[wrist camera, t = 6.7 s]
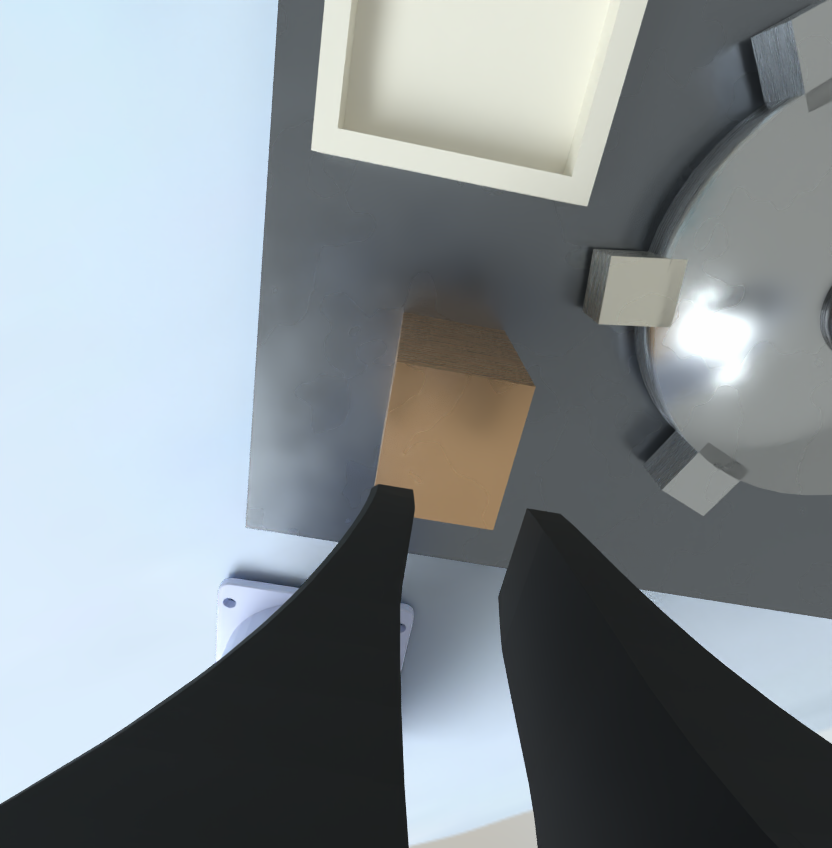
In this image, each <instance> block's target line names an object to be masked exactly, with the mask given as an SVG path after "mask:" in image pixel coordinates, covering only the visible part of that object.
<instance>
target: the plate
mask: <svg viewBox="0 0 832 848" xmlns="http://www.w3.org/2000/svg"><path fill="white" fill-rule="evenodd" d="M817 1H819V0H648V2H647V6H646V9H645V12H644V16H643V19H642V22H641V26H640V29H639V33H638V36H637V39H636V43H635V46H634V50H633V53H632V56H631V60H630V63H629V66H628V70H627V73H626V77H625V80H624V83H623V87H622V90H621V94H620V97H619V100H618V104H617V107H616V111H615V114H614V117H613V121H612V124H611V127H610V131H609V134H608V138H607V141H606V144H605V148H604V151H603V155H602V158H601V161H600V165H599V168H598V172H597V175H596V178H595V182H594V185H593V188H592V192H591V195H590V199H589V202H588V205H587V206H581V205H574V204H569V203H564V202H559V201H554V200H549V199H544V198H540V197H535V196H530V195H525V194H520V193H515V192H510V191H505V190H500V189H496V188H491V187H486V186H481V185H476V184H471V183H466V182H461V181H456V180H452V179H447V178H442V177H437V176H432V175H427V174H422V173H417V172H412V171H408V170H403V169H398V168H393V167H388V166H383V165H378V164H373V163H368V162H364V161H359V160H354V159H349V158H344V157H339V156H334V155H329V154H324V153H320V152H316V151H313V150H311V145H312V134H313V123H314V112H315V101H316V90H317V79H318V68H319V57H320V47H321V36H322V25H323V14H324V3H325V0H279V1H278V17H277V33H276V49H275V65H274V81H273V97H272V113H271V129H270V145H269V161H268V177H267V192H266V208H265V224H264V240H263V256H262V272H261V288H260V304H259V320H258V336H257V352H256V368H255V383H254V399H253V415H252V431H251V447H250V463H249V479H248V495H247V511H246V528H252V529H258V530H265V531H271V532H278V533H284V534H290V535H297V536H303V537H310V538H316V539H322V540H329V541H335V542H339V541H340V540H341V539H342V537H343V536H344V535H345V533H346V532H347V531H348V529H349V528H350V527H351V525H352V524H353V522H354V521H355V519H356V518H357V516H358V515H359V513H360V511H361V510H362V508H363V506H364V505H365V503H366V501H367V498H368V496H369V494H370V491H371V488H373V487H374V484H375V478H376V471H377V465H378V458H379V452H380V446H381V439H382V433H383V427H384V421H385V415H386V410H387V404H388V398H389V393H390V387H391V381H392V376H393V370H394V364H395V359H396V353H397V347H398V342H399V336H400V330H401V325H402V319H403V313H404V312H407V313H412V314H417V315H423V316H428V317H433V318H439V319H444V320H449V321H455V322H460V323H465V324H471V325H476V326H482V327H487V328H492V329H498V330H503V331H505V332H506V334H507V336H508V338H509V340H510V341H511V343H512V345H513V347H514V349H515V350H516V352H517V354H518V356H519V358H520V359H521V361H522V363H523V365H524V367H525V368H526V370H527V372H528V374H529V376H530V377H531V379H532V381H533V383H534V385H535V386H536V388H535V391H534V394H533V398H532V401H531V404H530V408H529V411H528V415H527V418H526V421H525V425H524V428H523V431H522V435H521V438H520V442H519V445H518V448H517V452H516V455H515V458H514V462H513V465H512V468H511V472H510V475H509V479H508V482H507V485H506V489H505V492H504V495H503V499H502V502H501V506H500V509H499V512H498V516H497V519H496V522H495V526H494V529H493V530H489V529H483V528H476V527H470V526H464V525H458V524H452V523H445V522H439V521H433V520H427V519H420V518H414V519H413V525H412V531H411V537H410V543H409V548H408V553H412V554H418V555H425V556H431V557H438V558H444V559H450V560H457V561H463V562H469V563H476V564H482V565H489V566H495V567H501V568H508V565H509V562H510V559H511V556H512V553H513V550H514V547H515V543H516V540H517V537H518V534H519V531H520V528H521V525H522V522H523V519H524V515H525V512H526V509H527V508H529V509H535V510H541V511H547V512H553V513H559V514H561V515H562V516H564V517H565V518H566V519H567V520H568V521H569V522H571V523H572V524H573V525H574V526H575V527H576V528H577V529H578V530H579V531H580V532H581V533H582V534H583V535H584V536H585V537H586V538H587V539H588V540H589V541H590V542H591V543H592V544H593V545H594V546H595V547H596V548H597V549H598V550H599V551H600V552H601V553H602V554H603V555H604V556H605V557H606V558H607V559H608V560H609V561H610V562H611V563H612V564H613V565H614V566H615V567H616V568H617V569H618V570H619V571H620V572H621V573H622V574H624V575H625V576H626V577H627V578H628V579H629V580H630V581H631V582H632V583H633V584H634V585H635V586H636V587H637V588H638V589H642V590H649V591H655V592H661V593H668V594H674V595H681V596H687V597H693V598H700V599H706V600H712V601H719V602H725V603H732V604H738V605H744V606H751V607H757V608H764V609H770V610H776V611H783V612H789V613H796V614H802V615H808V616H815V617H821V618H828V619H832V495H798V494H788V493H780V492H776V491H771V490H767V489H763V488H758V487H756V486H753V485H750V484H748V483H745V482H743V481H739V482H738V483H737V484H736V485H735V486H734V487H733V488H732V489H731V490H730V491H729V492H728V493H727V494H726V495H725V496H724V497H723V498H722V499H721V500H720V501H719V502H718V503H717V504H716V505H715V506H713V507H712V508H711V509H710V510H709V511H708V512H707V513H706V514H705V515H704V516H702V515H701V514H699V513H698V512H696V511H694V510H693V509H691V508H690V507H688V506H686V505H685V504H683V503H682V502H680V501H678V500H677V499H675V498H674V497H672V496H670V495H669V494H667V493H666V492H664V491H663V490H661V488H660V487H659V486H658V484H657V483H656V482H655V481H654V479H653V478H652V477H651V475H650V474H649V473H648V472H647V470H646V469H645V468H644V466H643V465H644V463H645V462H646V461H647V460H648V459H649V458H650V457H651V456H652V455H653V454H654V453H655V452H656V451H657V450H658V449H659V447H660V446H661V445H662V444H663V443H664V442H665V441H666V440H667V439H668V438H669V437H670V436H671V435H672V434H673V432H674V431H675V429H674V428H673V427H672V426H671V425H670V424H669V423H668V422H667V421H666V420H665V419H664V417H663V416H662V414H661V413H660V411H659V410H658V408H657V407H656V405H655V404H654V402H653V401H652V399H651V397H650V395H649V392H648V390H647V388H646V386H645V384H644V381H643V378H642V375H641V371H640V368H639V364H638V360H637V355H636V346H635V338H634V326H625V325H604V324H598V323H596V322H595V321H594V320H593V319H591V318H590V317H589V316H588V315H586V314H585V313H584V312H583V306H584V300H585V294H586V288H587V283H588V277H589V271H590V266H591V260H592V254H593V249H605V250H626V251H646V252H648V250H649V248H650V245H651V243H652V240H653V238H654V236H655V233H656V231H657V228H658V226H659V224H660V223H661V221H662V219H663V217H664V215H665V213H666V212H667V210H668V208H669V206H670V204H671V202H672V201H673V199H674V198H675V196H676V195H677V193H678V192H679V190H680V189H681V187H682V186H683V185H684V183H685V182H686V180H687V179H688V177H689V176H690V175H691V173H692V172H693V171H694V169H695V168H696V167H697V166H698V165H699V164H700V162H701V161H702V160H703V159H704V158H705V157H706V156H707V154H708V153H709V152H710V151H711V150H712V149H713V147H714V146H715V145H716V144H717V143H718V142H720V141H721V140H722V139H723V138H724V137H725V136H726V135H727V134H728V133H729V132H730V131H731V130H732V129H733V128H734V127H735V126H737V125H738V124H739V123H740V122H741V121H742V120H743V119H745V118H746V117H747V116H749V115H750V114H751V113H753V112H754V111H755V110H757V109H758V108H759V107H761V106H762V105H763V104H765V102H764V97H763V92H762V88H761V83H760V79H759V74H758V69H757V65H756V60H755V55H754V51H753V46H752V42H751V38H752V37H753V36H755V35H757V34H759V33H761V32H762V31H764V30H766V29H768V28H770V27H772V26H773V25H775V24H777V23H779V22H781V21H782V20H784V19H786V18H788V17H790V16H791V15H793V14H795V13H797V12H799V11H800V10H802V9H804V8H806V7H808V6H810V5H811V4H813V3H815V2H817Z"/></svg>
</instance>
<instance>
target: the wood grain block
mask: <svg viewBox="0 0 832 848" xmlns="http://www.w3.org/2000/svg"><path fill="white" fill-rule="evenodd" d="M535 388H536V386H535V385H534V383H533V381H532V379H531V377H530V376H529V374H528V372H527V370H526V368H525V367H524V365H523V363H522V361H521V359H520V358H519V356H518V354H517V352H516V350H515V349H514V347H513V345H512V343H511V341H510V340H509V338H508V336H507V334H506V332H505V331H503V330H498V329H492V328H487V327H482V326H476V325H471V324H465V323H460V322H455V321H449V320H444V319H439V318H433V317H428V316H423V315H417V314H412V313H407V312H404V313H403V319H402V325H401V330H400V336H399V342H398V347H397V353H396V359H395V364H394V370H393V376H392V381H391V387H390V393H389V398H388V404H387V410H386V415H385V421H384V427H383V433H382V439H381V446H380V452H379V458H378V465H377V471H376V478H375V484H374V486H376V485H378V484H383V485H389V486H395V487H401V488H407V489H413V493H414V501H415V513H414V518H420V519H427V520H433V521H439V522H445V523H452V524H458V525H464V526H470V527H476V528H483V529H489V530H493V529H494V526H495V522H496V519H497V516H498V512H499V509H500V506H501V502H502V499H503V495H504V492H505V489H506V485H507V482H508V479H509V475H510V472H511V468H512V465H513V462H514V458H515V455H516V452H517V448H518V445H519V442H520V438H521V435H522V431H523V428H524V425H525V421H526V418H527V415H528V411H529V408H530V404H531V401H532V398H533V394H534V391H535Z"/></svg>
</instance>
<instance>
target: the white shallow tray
mask: <svg viewBox="0 0 832 848" xmlns="http://www.w3.org/2000/svg"><path fill="white" fill-rule="evenodd" d="M647 2H648V0H325V3H324V14H323V25H322V36H321V47H320V57H319V68H318V79H317V90H316V101H315V112H314V123H313V134H312V145H311V150H313V151H316V152H320V153H324V154H329V155H334V156H339V157H344V158H349V159H354V160H359V161H364V162H368V163H373V164H378V165H383V166H388V167H393V168H398V169H403V170H408V171H412V172H417V173H422V174H427V175H432V176H437V177H442V178H447V179H452V180H456V181H461V182H466V183H471V184H476V185H481V186H486V187H491V188H496V189H500V190H505V191H510V192H515V193H520V194H525V195H530V196H535V197H540V198H544V199H549V200H554V201H559V202H564V203H569V204H574V205H581V206H587V205H588V202H589V199H590V195H591V192H592V188H593V185H594V182H595V178H596V175H597V172H598V168H599V165H600V161H601V158H602V155H603V151H604V148H605V144H606V141H607V138H608V134H609V131H610V127H611V124H612V121H613V117H614V114H615V111H616V107H617V104H618V100H619V97H620V94H621V90H622V87H623V83H624V80H625V77H626V73H627V70H628V66H629V63H630V60H631V56H632V53H633V50H634V46H635V43H636V39H637V36H638V33H639V29H640V26H641V22H642V19H643V16H644V12H645V9H646V6H647Z"/></svg>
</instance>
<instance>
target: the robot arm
mask: <svg viewBox="0 0 832 848" xmlns="http://www.w3.org/2000/svg"><path fill="white" fill-rule="evenodd" d="M414 513H415V501H414V493H413V489H407V488H401V487H395V486H389V485H383V484H378V485H376V486H374V487H373V488H371V491H370V494H369V496H368V498H367V501H366V503H365V505H364V506H363V508H362V510H361V511H360V513H359V515H358V516H357V518H356V519H355V521H354V522H353V524H352V525H351V527H350V528H349V529H348V531H347V532H346V533H345V535H344V536H343V537H342V539H341V540H340V541H339V543H338V544H337V545H336V547H335V548H334V549H333V551H332V552H331V553H330V554H329V555H328V557H327V558H326V559H325V560H324V561H323V562H322V563H321V565H320V566H319V567H318V568H317V569H316V570H315V571H314V572H313V574H312V575H311V576H310V577H309V578H308V579H307V580H306V582H305V583H304V584H303V585H302V586H301V587H300V588H296V587H290V586H283V585H276V584H270V583H263V582H256V581H250V580H243V579H236V578H227V579H224V580H223V581H222V582H221V584H220V586H219V589H218V600H217V626H216V652H215V664H213V665H212V666H211V667H209V668H208V669H207V670H206V671H204V672H203V673H202V674H200V675H199V676H198V677H196V678H195V679H193V680H192V681H191V682H189V683H188V684H186V685H185V686H183V687H182V688H181V689H179V690H178V691H176V692H175V693H174V694H172V695H171V696H169V697H168V698H166V699H165V700H164V701H162V702H161V703H159V704H158V705H156V706H155V707H154V708H152V709H151V710H149V711H148V712H147V713H145V714H144V715H142V716H141V717H139V718H138V719H137V720H135V721H134V722H132V723H131V724H129V725H128V726H127V727H125V728H123V729H122V730H120V731H119V732H117V733H116V734H114V735H113V736H111V737H110V738H108V739H107V740H105V741H104V742H102V743H100V744H99V745H97V746H95V747H94V748H92V749H90V750H89V751H87V752H85V753H84V754H82V755H81V756H79V757H77V758H76V759H74V760H72V761H71V762H69V763H67V764H66V765H64V766H62V767H61V768H59V769H57V770H56V771H54V772H53V773H51V774H49V775H48V776H46V777H44V778H43V779H41V780H39V781H38V782H36V783H34V784H33V785H31V786H29V787H28V788H26V789H25V790H23V791H21V792H20V793H18V794H16V795H15V796H13V797H11V798H10V799H8V800H6V801H5V802H3V803H1V804H0V848H409V846H408V831H407V816H406V802H405V787H404V764H403V740H402V716H401V670H402V666H403V662H404V658H405V654H406V650H407V646H408V641H409V637H410V633H411V629H412V625H413V621H414V610H413V609H412V607H410V606H409V605H407V604H403V603H401V593H402V583H403V578H404V572H405V566H406V560H407V554H408V548H409V543H410V537H411V531H412V525H413V519H414ZM228 598H231V599H233V600H235V601H231V600H229V599H228ZM498 600H499V617H500V631H501V643H502V652H503V658H504V663H505V668H506V673H507V679H508V684H509V689H510V694H511V699H512V704H513V709H514V713H515V718H516V723H517V728H518V733H519V738H520V743H521V748H522V753H523V757H524V762H525V767H526V772H527V777H528V782H529V788H530V794H531V800H532V806H533V812H534V818H535V826H536V835H537V845H538V848H832V744H831V743H829V742H828V741H827V740H825V739H824V738H822V737H821V736H820V735H818V734H817V733H815V732H814V731H812V730H811V729H809V728H808V727H806V726H805V725H804V724H802V723H801V722H799V721H798V720H797V719H795V718H794V717H793V716H791V715H790V714H788V713H787V712H786V711H784V710H783V709H781V708H780V707H779V706H777V705H776V704H775V703H773V702H772V701H771V700H769V699H768V698H767V697H765V696H764V695H763V694H762V693H760V692H759V691H758V690H756V689H755V688H754V687H752V686H751V685H750V684H749V683H747V682H746V681H745V680H743V679H742V678H741V677H740V676H738V675H737V674H736V673H734V672H733V671H732V670H731V669H729V668H728V667H727V666H725V665H724V664H723V663H722V662H720V661H719V660H718V659H717V658H716V657H714V656H713V655H712V654H711V653H710V652H708V651H707V650H706V649H705V648H704V647H702V646H701V645H700V644H699V643H698V642H697V641H695V640H694V639H693V638H692V637H691V636H690V635H689V634H687V633H686V632H685V631H684V630H683V629H682V628H681V627H679V626H678V625H677V624H676V623H675V622H674V621H673V620H671V619H670V618H669V617H668V616H667V615H666V614H665V613H664V612H663V611H661V610H660V609H659V608H658V607H657V606H656V605H655V604H654V603H653V602H652V601H651V600H650V599H649V598H647V597H646V596H645V595H644V594H643V593H642V592H641V591H640V590H639V589H638V588H637V587H636V586H635V585H634V584H633V583H632V582H631V581H630V580H629V579H628V578H627V577H626V576H625V575H624V574H622V573H621V572H620V571H619V570H618V569H617V568H616V567H615V566H614V565H613V564H612V563H611V562H610V561H609V560H608V559H607V558H606V557H605V556H604V555H603V554H602V553H601V552H600V551H599V550H598V549H597V548H596V547H595V546H594V545H593V544H592V543H591V542H590V541H589V540H588V539H587V538H586V537H585V536H584V535H583V534H582V533H581V532H580V531H579V530H578V529H577V528H576V527H575V526H574V525H573V524H572V523H571V522H569V521H568V520H567V519H566V518H565V517H564V516H562V515H561V514H559V513H553V512H547V511H541V510H535V509H529V508H527V509H526V512H525V515H524V519H523V522H522V525H521V528H520V531H519V534H518V537H517V540H516V543H515V547H514V550H513V553H512V556H511V559H510V562H509V565H508V568H507V571H506V575H505V578H504V581H503V584H502V587H501V590H500V593H499V596H498ZM400 623H402V624H404V625H400Z"/></svg>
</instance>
